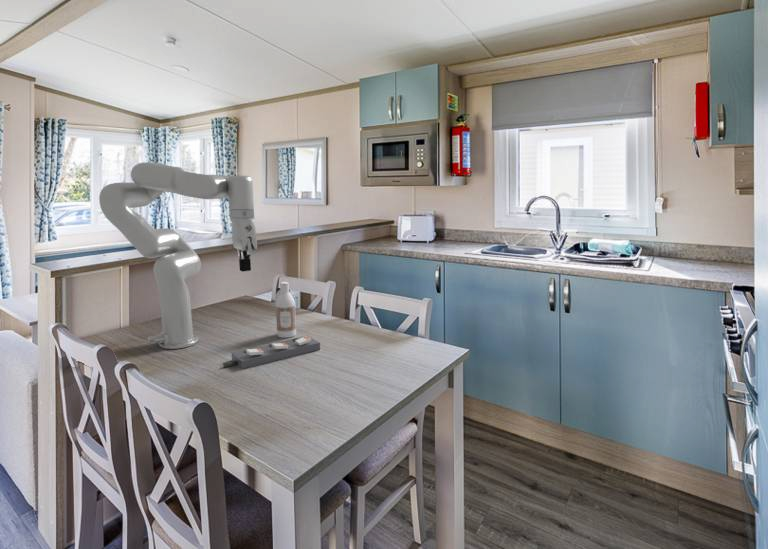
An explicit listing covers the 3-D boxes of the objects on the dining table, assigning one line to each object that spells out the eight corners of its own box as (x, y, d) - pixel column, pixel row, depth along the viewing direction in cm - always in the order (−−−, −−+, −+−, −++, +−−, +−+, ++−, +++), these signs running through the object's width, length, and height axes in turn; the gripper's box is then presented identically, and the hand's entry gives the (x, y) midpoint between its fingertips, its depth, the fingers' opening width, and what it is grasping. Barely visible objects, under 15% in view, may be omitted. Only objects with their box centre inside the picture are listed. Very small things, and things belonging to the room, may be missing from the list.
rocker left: (249, 355, 140) (250, 352, 140) (245, 352, 142) (246, 349, 142) (263, 354, 143) (263, 351, 143) (259, 351, 145) (259, 348, 145)
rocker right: (299, 345, 150) (299, 342, 150) (295, 342, 153) (294, 340, 152) (311, 340, 153) (310, 338, 152) (306, 338, 155) (306, 335, 155)
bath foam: (276, 338, 165) (273, 285, 161) (278, 332, 172) (275, 280, 168) (295, 337, 166) (293, 284, 162) (296, 331, 173) (294, 280, 169)
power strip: (229, 372, 136) (228, 363, 135) (219, 362, 143) (218, 354, 142) (320, 349, 154) (319, 342, 154) (307, 342, 161) (307, 335, 161)
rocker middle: (275, 349, 145) (276, 346, 145) (271, 346, 147) (271, 343, 147) (288, 348, 148) (288, 345, 148) (283, 345, 150) (284, 342, 150)
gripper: (262, 215, 143) (265, 273, 146) (244, 213, 154) (248, 266, 158) (238, 216, 138) (242, 275, 142) (222, 213, 150) (226, 268, 154)
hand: (245, 270), depth 150 cm, fingers closed
